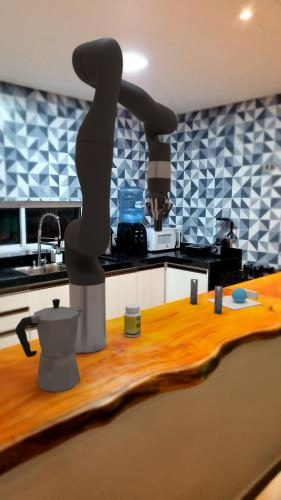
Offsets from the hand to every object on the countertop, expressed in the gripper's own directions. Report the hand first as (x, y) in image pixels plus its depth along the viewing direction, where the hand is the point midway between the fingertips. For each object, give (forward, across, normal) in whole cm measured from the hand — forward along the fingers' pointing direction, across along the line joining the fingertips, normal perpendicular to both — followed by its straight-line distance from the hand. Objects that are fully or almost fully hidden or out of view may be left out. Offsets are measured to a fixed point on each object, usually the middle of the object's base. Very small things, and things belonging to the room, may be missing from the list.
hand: (158, 231), depth 119 cm
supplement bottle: (+28, +12, -16) cm, 34 cm away
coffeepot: (+28, +27, -44) cm, 59 cm away
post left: (+27, -3, +18) cm, 33 cm away
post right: (+27, +10, +18) cm, 34 cm away
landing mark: (+27, +4, +32) cm, 42 cm away
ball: (+24, +5, +34) cm, 42 cm away
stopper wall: (+27, 0, +43) cm, 51 cm away
